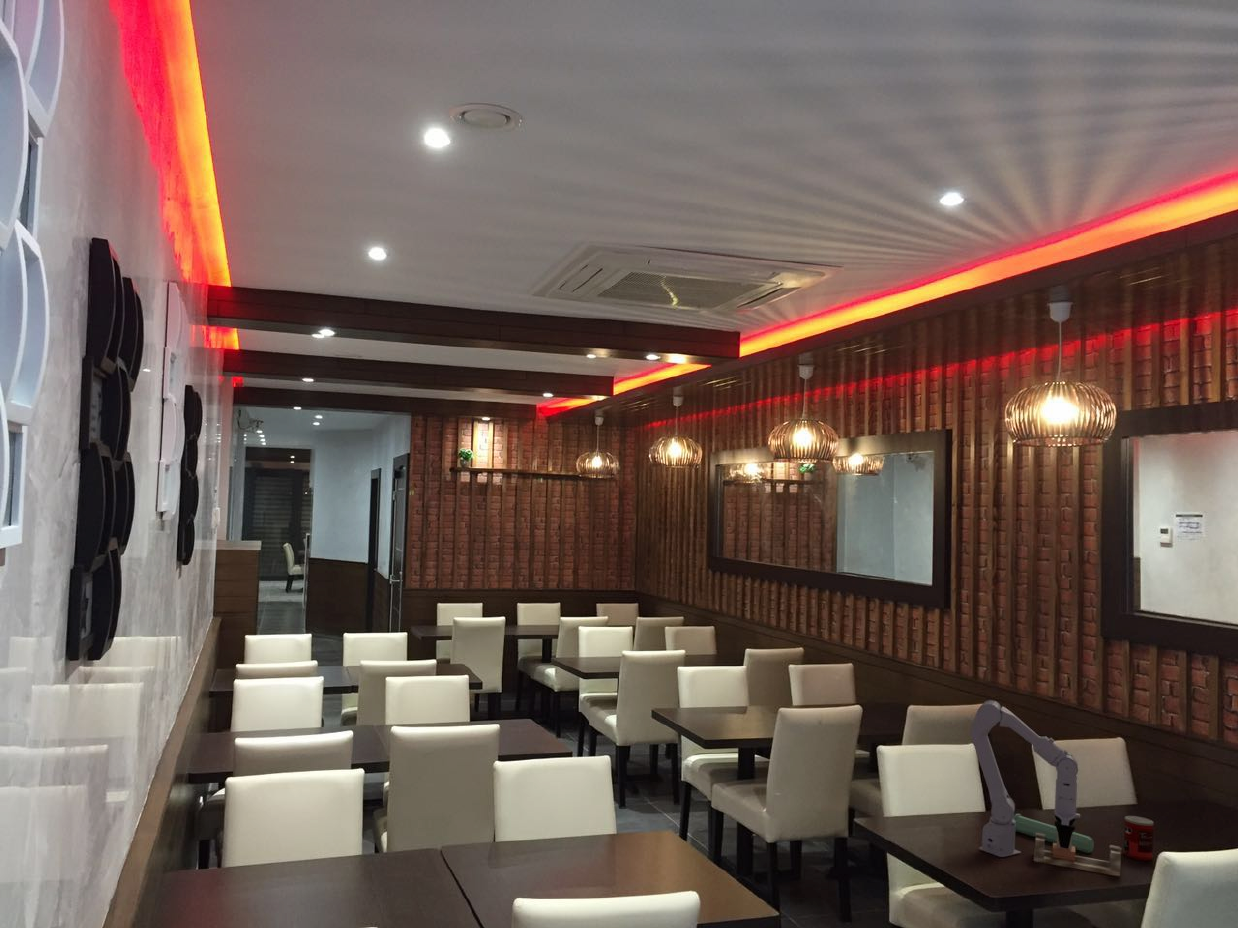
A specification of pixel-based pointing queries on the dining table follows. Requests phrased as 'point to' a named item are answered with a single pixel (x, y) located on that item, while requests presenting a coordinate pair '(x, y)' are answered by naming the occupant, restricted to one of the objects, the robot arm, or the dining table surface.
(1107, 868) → the rail
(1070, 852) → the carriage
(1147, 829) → the canned food
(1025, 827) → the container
